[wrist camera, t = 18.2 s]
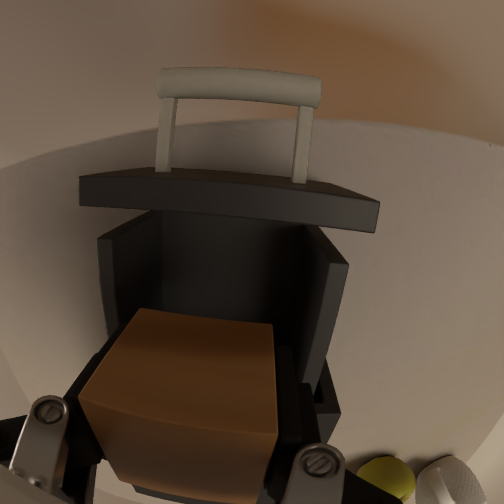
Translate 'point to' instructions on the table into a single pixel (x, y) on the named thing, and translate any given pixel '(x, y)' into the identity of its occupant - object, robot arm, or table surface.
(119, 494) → the table surface
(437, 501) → the mug
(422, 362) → the table surface
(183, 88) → the drawer
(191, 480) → the block
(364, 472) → the apple
